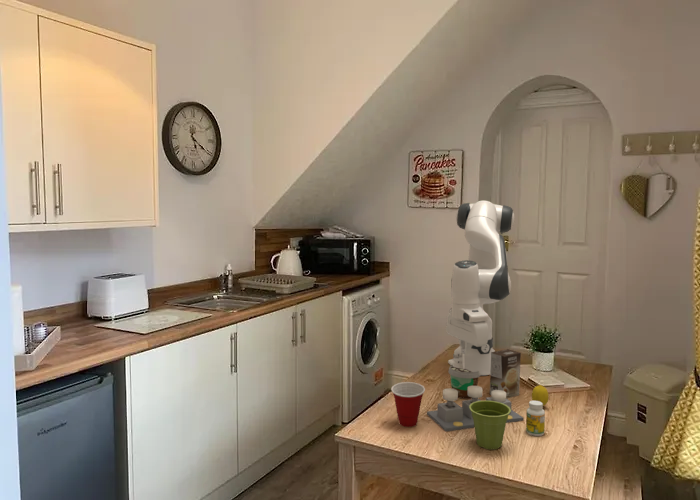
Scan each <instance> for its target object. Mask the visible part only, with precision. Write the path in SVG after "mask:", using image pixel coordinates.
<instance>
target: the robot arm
mask: <svg viewBox="0 0 700 500" xmlns="http://www.w3.org/2000/svg"><path fill="white" fill-rule="evenodd" d="M515 219H516V218H515V213H514V209H513V208H512V207H511V206H509V205H505V204H503V205H500V204H496V203H493V202H491V201H489V200H479V201H476V202H474V203H470V202H467V203H466V202H464V203H462V204H460V205H459V206H458V209H457V210H456V213H455V221H456V224H457V225H456V226H458V228H460V229H462V230H464V237H465V240H466V242H467V243H468V244H469V249H468V260H467V259H466V260H458V261H456V262H454V264H453V268H452V276H451V288H450V289H451V292H450V294H451V298H452V299H451V308H450V309H449V310H448V313H447V316H446V323H445V325H446V326H445V331H446V333H447V335H449V336H451V337H453V338H456V339H458V343H459V346H458V347H457V348H456V349H454V351H453V352H454V353H452V354H453V355H452V356H453V357H452V358H451V359H449V360H448V361H447V363H448V364H449V365H450V366H451V365H452V364H453V367H456V368H461V369H467V370H469V371H471V372H477V371H479V374H480V376H488V375H489V376H490V371H491V352H496V350H495V349H494V338H493V320H492V318H491V317H490V316H489V313H487V312H486V311H485V310H484V305H489V304H495V303H498V302H500V301H502V300H504V299H506V298H507V297H508V296H509V295H510V294H511V290H512V281H511V280H512V279H511V277H510V273H509V269H508V268H509V265H508V255H507V249H506V242H505V238H504V236H503V234H504V233H505V234H506V233H508V232H509V231H511V230H512V228H513V226H514V224H515Z"/></svg>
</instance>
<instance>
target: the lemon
mask: <svg viewBox="0 0 700 500" xmlns="http://www.w3.org/2000/svg"><path fill="white" fill-rule="evenodd" d="M548 391H549V390H548V389H547V388H546V387H545V386H543V385H542V384H539V385H536V386H535V387H533V389H532V391H531V401H540V402H542V403H543V406H546V405H547V403H548V401H549V392H548Z"/></svg>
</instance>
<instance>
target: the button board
mask: <svg viewBox="0 0 700 500" xmlns="http://www.w3.org/2000/svg"><path fill="white" fill-rule="evenodd" d="M478 401H482V400H481V399H479V398H478ZM485 401H493V400H492V399H491V396H490V397H489V396H488V397H485ZM471 403H472V398H470V399H464V400H461V405H459V404H458V403H457V402H455V401H453V407H451V408H448V407H447V402H441V403H437V409H436V410H428V411H426V415H427V416H428V417H429V418H430V419H431V420H432V421H433V422H434V423H436V424H437V425H438V426H439V427H440V428H441V429H442V430H443V431H445V432H452V431H458V430H466V429H472V428H473V429H475V428H474V421H473V417H472V412H471V410H470V409H469V406H470V404H471ZM500 403H503V404H505V405H507V406H508V407H510V409H511V412H510V414H509V415H508V419H507V421H506V424H507V423H508V424H509V423H514V422H523V421H524V417H523V416H522V415H520V414H519V413H517V412H516V411H514V410H513V409H512V401H510V400H509V398H506V401H505V402H500Z"/></svg>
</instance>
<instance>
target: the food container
mask: <svg viewBox="0 0 700 500" xmlns="http://www.w3.org/2000/svg"><path fill="white" fill-rule="evenodd" d="M448 374H449V375H450V387H451V388H450V389H455V390H457V391H458V399H464V400H471V399H472V397H469V396H468V395H467V392H468V387H469V386H478V382H479V378H480V377H481V375H480V374H479V371H477V372H471V371H469V370H467V369H461V368H456V367H453V364H452V365H450V366H449V367H448Z"/></svg>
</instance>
